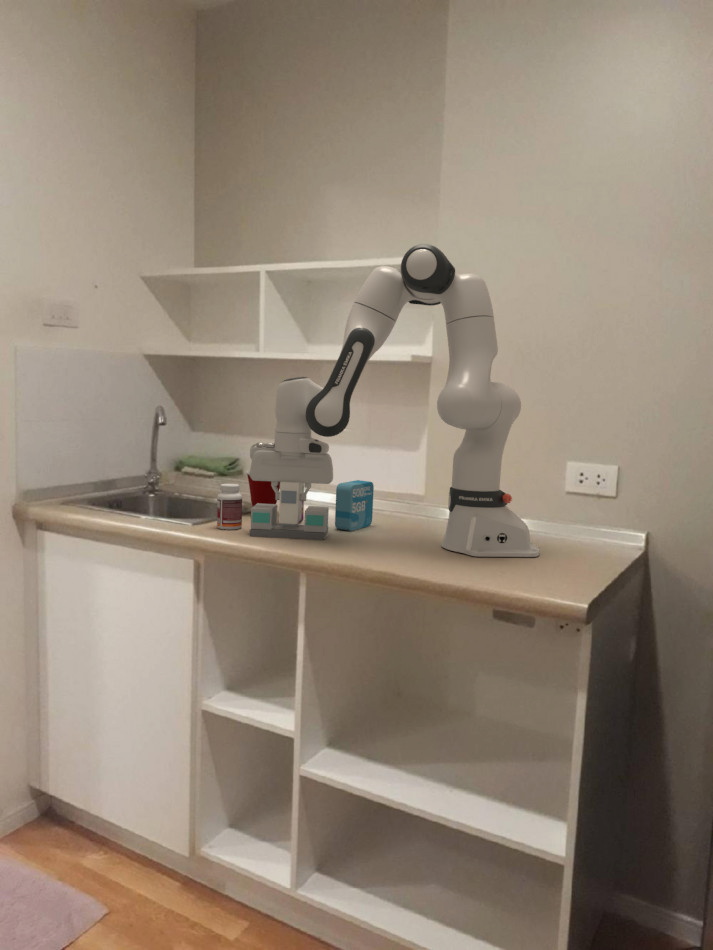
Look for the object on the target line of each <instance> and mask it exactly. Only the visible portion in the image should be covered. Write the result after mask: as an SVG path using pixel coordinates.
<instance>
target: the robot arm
mask: <svg viewBox="0 0 713 950" xmlns="http://www.w3.org/2000/svg"><path fill="white" fill-rule="evenodd" d="M355 297H356V298H355V300H354V301H353V304H352V306H351V309H350V311H349V313H348V317H347V319H346V325H345V329H344V335H343V342H342V348H341V350H340V354H339V356H338V358H337V360H336V363H335V365H334V367H333V369H332V371H331V374H330V376H329V378H328V380H327V382H326V384H325V385H324V387H322V386H321V385H319V384H318V383H315V382H314V381H312V379H311V378H310V377H307V376H300V377H298V376H297V377H291V378H287V379H284V380H282V381H280V383H279V384H278V386H277V391H276V395H275V396H276V397H275V408H274V409H275V411H274V412H275V418H276V424H275V428H274V442H266V443H263V442H257V443H255V444H253V445H252V446H251V447H250V449H249V458H250V459H251V463H250V469H249V471H250V477H251V479H252V480H254V481H271V486H272V488H273V490H274V492H275V493H276V498H275V499H276V500H277V501H280V489H279V490H278V488H277V485H278V482H281V481H288V482H300V483H304V488H306V489H304V493H300V501H304V502H307V494H308V493H309V491H310V489H311V488H312V484H320V485H321V484H322V485H330V484H331V483H332V482H333V480H334V467H333V460H332V457H331V455H330V454H329V453H328V452H329V450H330V445H329V444H328V443H326V442H324V441H321V440H319V439H316V438H313V437H312V432H314V433H315V434H316V435H318V436H321V437H326V438H331V437H335V436H338V435H340V434H341V433H342V432H343V431H344V430H345V429H346V428H347V426H348V425H349V423H350V422H349V421H350V417H351V407H350V406H351V405H350V404H351V398H352V395H353V393H354V390H355V389H356V386H357V384H358V382H359V379H360V377H361V375H362V373H363V371H364V369H365V367H366V365H367V364H368V362H369V360H370V359H371V358H372V357H373V356H374V354H375V353H376V352H378V351H379V350H380V349H381V348H382V346H383V345H384V344H385V342H386V341H387V339H388V338H389V336H390V335H391V332H392V331H393V329H394V327H395V325H396V322H397V320H398V318H399V316H400V314H401V311H402V310H403V308H404V306H406V304H407V303H409V304H411V305H422V306H438V305H441V306H442V309H443V313H444V319H445V327H446V335H447V336H446V337H447V343H448V344H447V345H448V346H447V347H448V354H449V355H448V356H449V357H448V358H449V361H448V362H449V363H448V371H447V378H446V382H445V385H444V386H443V388H442V389H441V390H440V393H439V394H438V397H437V401H436V408H437V413H438V416H439V417H440V420H442V421H443V422H444V423H445V424H447V425H449V426H450V427H451V426H452V427H453V428H457V429H460V430H465V433H464V436H463V437H462V441H461V443H460V444H459V446H458V448H457V449H455V451H454V454H453V457H452V458H453V459H452V476H451V477H452V478H451V480H452V481H451V486H450V487H449V492H448V500H447V501H448V506H447V508H448V511H449V512H448V518H447V523H446V524H447V525H446V530H445V533H444V536H443V540H442V542H441V547H442V548H444V549H446V550H448V551H453V552H455V553H462V554H465V555H468V556H472V557H479V558H480V557H485V558H487V557H497V558H498V557H501V558H503V557H504V558H506V557H508V558H509V557H510V558H511V557H512V558H514V557H515V558H535V557H538V556H540V549H539V547H538V546H537V545H536V544H534V543H532V542H531V535H530V529H529V526H528V525H527V523H526V522H525V521H524V520H522V519H521V518H520V516H518V515H517V514H516V513H515V512H514V511H513V510H512V509H510V508H509V507H508V506H507V505H508V504H511V502H512V501H513V496H512V495H511V494H509V493H506V492H504V491H503V490H501V489H500V487H501V474H502V460H503V454H504V452H505V451H504V450H505V446H506V443H507V439H508V436H509V433H510V431H511V429H512V426H513V424H514V422H515V421H516V419H518V417H519V416H520V413H521V410H522V403H521V398H520V396H519V394H518V392H517V391H516V390H515V389H513V387H511V386H509V385H506V384H504V383H501V382H499V381H498V382H496V381H491V375H492V374H491V373H492V366H493V362H494V359H496V357H497V355H498V351H499V349H498V348H499V347H498V340H497V332H496V323H495V316H494V309H493V305H492V301H491V296H490V292H489V289H488V285H487V284H486V281H485V279H483V277H482V276H481V275H478V274H476V273H470V272H467V273H456V268H455V267H454V265H453V264H452V263H451V261H450V259H449V258H448V257H447V256H446V255H445V254H444V253H443V251H441V250H440V249H439V248H438V247H437V246H435V245H432V244H428V243H420V244H416V245H414V246H412V247H411V248H409V249H408V250H407V251H406V253H405V254H403V258H402V259H401V263H400V268H395V267H392V266H389V265H381V266H380V265H379V266H377V267H375V268H373V270H371V272H370V273H369V275H368V277H367V278H366V280H365V281H364V283H363V284H362V285H361V288H360V289H359V292H358V293H357V295H356V296H355Z"/></svg>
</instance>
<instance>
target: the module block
mask: <svg viewBox="0 0 713 950" xmlns="http://www.w3.org/2000/svg"><path fill="white" fill-rule="evenodd" d="M279 492H280V500H279V507H278V508H279V510H278V511H279V512H278V524H279V523H286V524H298V523H299V521H300V520H301V513H302V501H300V493H302V483H300V482H288V481H281V482H280V489H279ZM299 524H300V523H299ZM299 524H298V525H299Z"/></svg>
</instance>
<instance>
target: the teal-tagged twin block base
mask: <svg viewBox="0 0 713 950" xmlns="http://www.w3.org/2000/svg"><path fill="white" fill-rule="evenodd" d="M329 509H330V507H329V506H318V505H308V506H307V508H306V509H304V521H303V523H304V524H298V525H294V524H279V523H277V519H278V518H277V516H278V504H277V503H276V504H260V503H257V504H256V505H255V506H253V507H252V506H251V508H250V530H249V537H256V536H259V537H261V538H277V539H278V538H279V539H297V540H298V539H299V540H314V541H315V540H316V541H317V540H320V541H325V539H326V537H327V535H328V533H329ZM259 537H258V538H259Z"/></svg>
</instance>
